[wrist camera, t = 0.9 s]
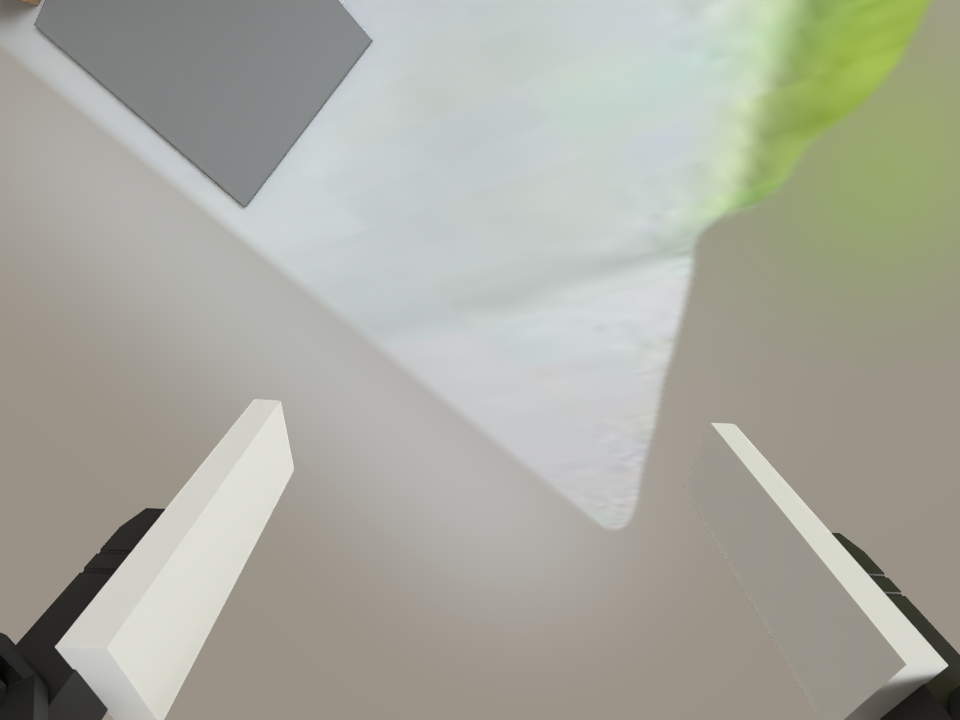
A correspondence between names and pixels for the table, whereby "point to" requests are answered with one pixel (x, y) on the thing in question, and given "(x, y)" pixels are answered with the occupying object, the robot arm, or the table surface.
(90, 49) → the mat
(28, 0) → the deck
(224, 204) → the table surface
